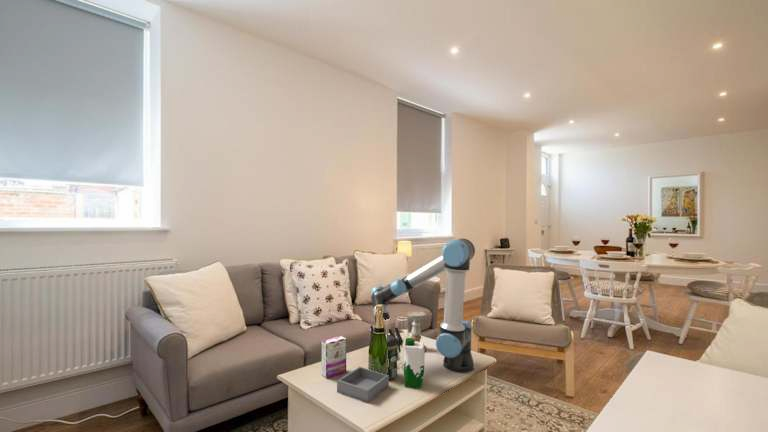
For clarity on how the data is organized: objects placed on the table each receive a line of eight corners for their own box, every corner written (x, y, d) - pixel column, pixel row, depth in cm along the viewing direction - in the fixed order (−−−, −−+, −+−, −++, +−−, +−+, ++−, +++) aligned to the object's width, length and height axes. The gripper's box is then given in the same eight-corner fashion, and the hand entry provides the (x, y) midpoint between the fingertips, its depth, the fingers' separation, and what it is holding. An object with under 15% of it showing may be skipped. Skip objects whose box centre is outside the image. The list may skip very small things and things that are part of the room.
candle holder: (431, 351, 205) (432, 314, 205) (413, 355, 199) (414, 317, 198) (417, 343, 216) (418, 309, 215) (400, 347, 209) (401, 312, 209)
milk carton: (405, 378, 171) (406, 335, 170) (424, 381, 169) (425, 337, 168) (402, 387, 162) (403, 342, 162) (422, 390, 160) (424, 344, 160)
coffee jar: (373, 373, 174) (374, 334, 174) (386, 369, 179) (387, 331, 179) (387, 381, 166) (388, 340, 166) (400, 376, 171) (401, 336, 171)
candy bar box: (340, 368, 179) (341, 335, 179) (346, 372, 175) (347, 338, 175) (320, 375, 172) (321, 340, 172) (326, 379, 168) (326, 343, 168)
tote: (388, 386, 163) (388, 375, 163) (367, 402, 148) (367, 390, 148) (359, 377, 171) (359, 366, 171) (336, 392, 157) (337, 380, 156)
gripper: (400, 318, 190) (409, 361, 174) (359, 320, 185) (364, 365, 169) (403, 310, 185) (413, 355, 169) (361, 312, 179) (367, 358, 164)
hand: (389, 360), depth 169 cm, fingers closed on coffee jar, 9 cm apart
